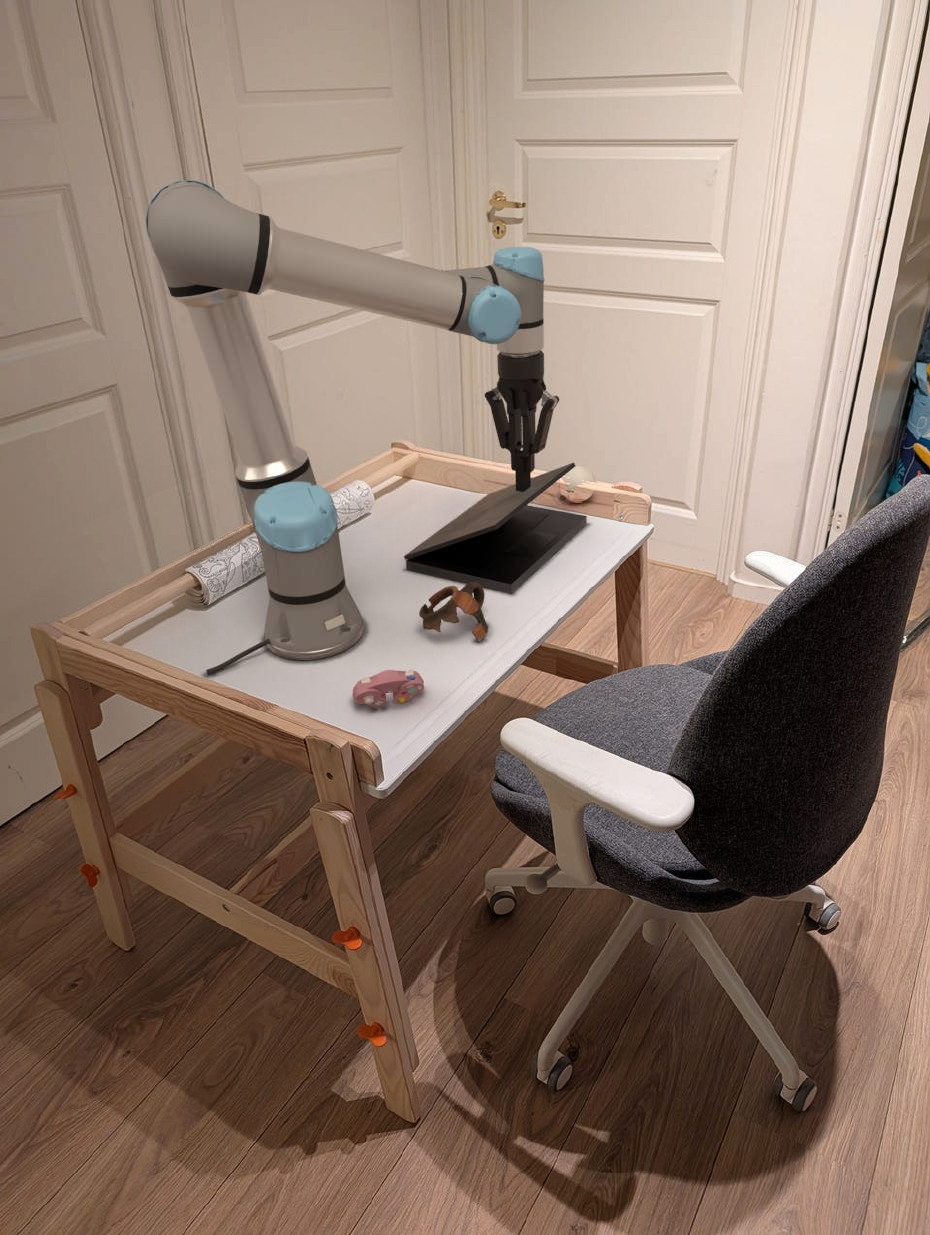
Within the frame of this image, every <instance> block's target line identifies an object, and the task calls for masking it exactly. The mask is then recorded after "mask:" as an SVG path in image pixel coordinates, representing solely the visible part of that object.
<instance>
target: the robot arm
mask: <svg viewBox="0 0 930 1235" xmlns="http://www.w3.org/2000/svg"><path fill="white" fill-rule="evenodd" d="M145 227H146V233H147V236H148V240H149V242H150V244H151V248H152V249H153V252H154V254H155V256H156V259H157V261H158V264H159V266H160V269H161V273H162V275H163V278H164V280H165V283H166V286H167V288H168V291H169V295H170V297H171V298H172V299H173V300H175V301H177V302H178V303H180V304H182V305H184V306H185V308H186V309H187V312H188V315H189V318H190V320H191V321H190V322H191V323H192V325H193V329H194V332H195V334H196V337H197V341H198V343H199V347H200V349H201V352H202V355H203V357H204V360H205V363H206V366H207V369H208V372H209V375H210V378H211V381H212V383H213V386H214V388H215V392H216V394H217V397H218V400H219V402H220V406H221V408H222V411H223V414H224V417H225V420H226V423H227V425H228V429H229V431H230V434H231V437H232V440H233V442H234V446H235V449H236V451H237V454H238V457H239V460H240V461H239V463H238V465H237V467H236V468H235V471H234V475H235V478H236V481H237V484H238V486H239V489H240V492H241V495H242V498H243V501H244V505H245V509H246V511H247V514H248V516H249V518H250V521H251V523H252V526H253V529H254V533H255V536H256V539H257V542H258V545H259V549H260V553H261V557H262V563H263V568H264V573H265V580H266V584H267V589H268V595H269V599H268V604H267V611H266V617H265V623H264V638H265V640H263V641H261V642H258V643H257V644H254V645H253V646H251V647H249V648H247V649H245V650H244V651H242V652H240V653H238V654H236V655H234V656H232V657H230V658H229V659H228V660H226V661H224V662H222V663H220V664H218V665H216V666H214V667H210V668H207V669H206V670H205V671H206V672H205V673H206V674H207V675H210V674H211V675H212V674H213V673H216V672H219V671H221V670H223V669H225V668H227V667H229V666H231V665H233V664H235V663H236V662H238V661H239V660H241V659H243V658H244V657H247V656H248V655H250V654H252V653H254V652H256V651H258V650H260V649H262V648H264V647H265V646H267V648H268V649H269V650H270V652H272V653H273V654H274V655H276V656H278V657H280V658H281V657H282V658H285V659H288V660H294V661H296V660H297V661H311V660H312V661H313V660H320V659H324V658H330V657H333V656H335V655H337V654H340V653H343V652H345V651H346V650H348V649H350V648H351V647H353V646H354V645H355V644H357V642H359V641H360V639H361V638H362V636H363V634H364V622H363V617H362V614H361V612H360V609H359V607H358V606H357V603H356V602H355V600H354V598H353V596H352V595H351V592H350V590H349V589H348V586H347V583H346V576H345V569H344V563H343V556H342V547H341V542H340V532H339V527H338V520H339V519H338V518H339V517H338V510H337V508H336V506H335V502H334V498H333V496H332V495H331V493H330V492H329V491H328V490H327V489H326V488H324V487H322V486H321V485H318V484H317V481H316V477H315V474H314V471H313V468H312V465H311V464H312V463H311V461H310V459H309V458H310V457H309V454H308V453H307V451H306V450H305V449H304V448H302V447H299V446H297V445H296V444H295V442H294V440H293V436H292V432H291V430H290V427H289V423H288V420H287V417H286V414H285V411H284V408H283V404H282V401H281V399H280V395H279V392H278V388H277V386H276V382H275V379H274V376H273V373H272V369H271V367H270V363H269V360H268V356H267V353H266V350H265V347H264V344H263V340H262V338H261V334H260V332H259V328H258V325H257V322H256V319H255V315H254V313H253V310H252V307H251V303H250V299H249V296H248V294H251V295H257V296H260V295H261V294H263V293H265V291H267V290H272V291H276V292H280V293H284V294H288V295H293V296H298V297H302V298H306V299H310V300H314V301H320V302H324V303H328V304H333V305H337V306H340V307H346V308H350V309H354V310H358V311H362V312H367V313H372V314H377V315H381V316H383V317H389V318H394V319H397V320H403V321H407V322H411V323H415V324H420V325H424V326H428V327H433V328H436V329H441V330H445V331H449V332H452V333H457V334H461V335H465V336H469V337H472V338H474V339H476V340H477V341H478V342H481V343H485V344H488V345H496V350H497V351H498V354H497V356H496V357H497V359H496V360H497V375H498V381H497V382H496V387H494V388H491V389H490V390H488V391H486V392H485V393H484V398H485V399H486V401H487V404H488V405H489V406H490V411H491V415H492V419H493V423H494V428H495V431H496V436H497V439H498V444H499V447H500V448H501V449H505V450H507V451H509V452H510V468H511V470H512V471H514V472H515V475H514V476H515V484H516V491H520V492H524V491H526V490H527V489H528V488H530V487H531V478H532V475H531V473H532V472H534V471H535V467H536V462H535V461H536V460H535V459H536V458H535V455H536V454H539V453H540V452H541V451H543V450H545V448H546V445H547V441H548V437H549V432H550V428H551V424H552V419H553V414H554V410H555V408H556V406H557V405H558V404H559V402H560V397H559V396H558V395H552V394H551V393H550V392H548V391H547V385H546V383H545V379H544V376H545V353H544V352H543V351H542V350H543V349H544V348H545V329H544V328H545V325H544V322H545V320H544V297H545V296H544V295H545V294H544V293H545V292H544V287H545V273H544V272H545V271H544V262H543V254H542V252H541V251H540V250H539V249H537V248H535V247H531V246H510V247H505V248H500V249H498V250H496V251H495V252H494V254H493V261H492V264H489V265H486V266H478V267H469V268H468V267H467V268H457V269H446V270H444V269H438V268H433V267H429V266H426V265H423V264H419V263H414V262H411V261H406V260H403V259H400V258H396V257H391V256H389V255H384V254H380V253H377V252H373V251H370V250H366V249H361V248H358V247H354V246H350V245H346V244H342V243H339V242H335V241H331V240H328V239H324V238H320V237H317V236H312V235H309V234H304V233H300V232H296V231H292V230H289V229H285V228H281V227H280V226H279V227H278V225H277V224H276V223H275V221H274V219H273V218H272V216H269V215H266V214H262V213H258V212H255V211H251V210H249V209H246V208H244V207H241V206H239V205H237V204H235V203H233V202H232V201H230V200H228V199H226V197H224V195H222V193H221V192H219V191H218V190H217V189H215V187H213V186H211V185H210V184H208V183H205V182H203V181H199V180H194V179H185V180H176V181H174V182H172V183H168V184H165V185H164V186H163V187H161V188H160V189H158V191H157V192H156V193H155V194H154V196H152V198H151V200H150V202H149V204H148V206H147V209H146V215H145ZM247 293H248V294H247ZM540 401H541V404H540V406H541V407H542V408H541V410H540V413H539V415H538V416H539V417H538V421H537V426H536V412H537V410H538V409H537V406H538V404H539V402H540ZM505 403H506V406H505Z"/></svg>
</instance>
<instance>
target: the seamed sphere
mask: <svg viewBox="0 0 930 1235" xmlns="http://www.w3.org/2000/svg"><path fill="white" fill-rule="evenodd" d="M564 476H565V477H561V478H562V479H563V481H564V482H565V483H570V484H566V485H568V486H569V487H568V488H567V489H568V490H566V491H567V492H568V493H570V492H572V493H573V492H574V491H575V490H574V489H573V490H574V491H572V490H571V489H569V488H573V487H576V486H577V485H583V484H581V483H587V482H585V481H589V482H595V483H597V481H596V480H597V479H596V476H595V475H594V473H593V472H592V470H590V469H589V468H588V467H586V466H582V465H575V467H574V468H573V469H571V470H570V471H569V472H568V473H566V474H565V475H564ZM566 477H567V478H566ZM568 477H570V478H568ZM581 480H584V482H583V481H581ZM587 484H588V483H587ZM589 484H590V483H589ZM571 495H572V494H571ZM567 501H568V502H570V503H574V504H580V503H583V502H582V501H581V502H573V501H569V500H567Z"/></svg>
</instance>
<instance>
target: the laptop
mask: <svg viewBox="0 0 930 1235" xmlns="http://www.w3.org/2000/svg"><path fill="white" fill-rule="evenodd" d="M587 523H588V516H587V515H585V514H578V513H574V512H568V511H561V510H555V509H550V508H545V507H538V506H533V505H529V504H528V505H526V506H525V507H524V508H523V509H521V510H520V511H519V512H518V513H516V514H515V515H514V516H513V517H511V518H510V519H509V520H508V521H506V522H505V523H504V524H503V525H501V526H500V527H499V528H498V529H496V530H493V531H490V532H487V533H484V534H481V535H479V536H476V537H473V538H470V539H467V540H464V541H461V542H458V543H455V544H452V545H449V546H446V547H443V548H440V549H437V550H434V551H431V552H428V553H426V554H423V555H420V556H417V557H414V558H411V559H408V560H405V566H406V571H410V572H414V573H417V574H421V575H422V574H424V575H427V576H430V577H431V576H432V577H436V578H440V579H444V580H448V581H453V582H458V583H461V584H466V585H467V584H468V583H472V582H477V583H478V584H480V585H481V586H482V588H483V589H488V590H493V591H496V592H500V593H505V594H508V595H509V594H510V595H512V594H514V593H516V591H517V590H518V589H519V588H520V587H521V586H522V585H524V583H526V582H527V581H528V580H529V579H530V578H531V577H532V576H533V575H534V574H535V573H536V572H537V571H538V570H539V569H540V568H542V567H543V566H544V565H545V564H546V563H547V562H548V561H549V560H550V559H551V558H552V557H553V556H555V555H556V554H557V553H558V552H559V551H560V550H561V549H562V548H563V547H564V546H565V545H567V544H568V543H569V542H570V541H571V540H572V539H573V538H574V537H575V536H576V535H577V534H578V533H579V532H581V531H582V530H583V529H584V528H585V527H586V526H587V525H588V524H587Z"/></svg>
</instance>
